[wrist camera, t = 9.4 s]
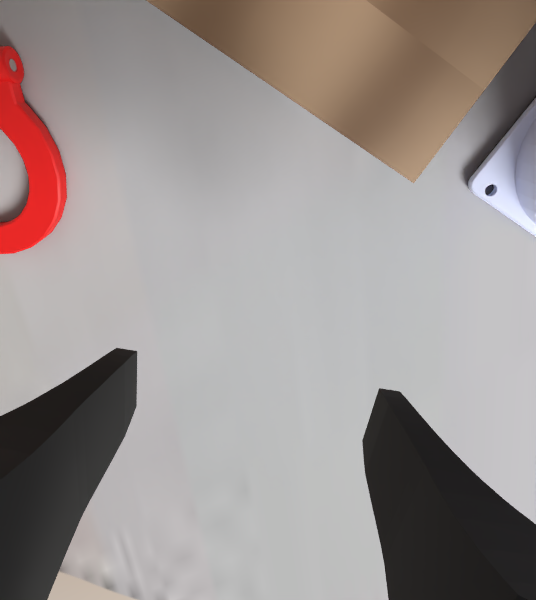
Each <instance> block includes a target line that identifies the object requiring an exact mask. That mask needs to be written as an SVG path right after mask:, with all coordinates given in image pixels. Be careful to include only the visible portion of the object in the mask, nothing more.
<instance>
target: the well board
mask: <svg viewBox="0 0 536 600" xmlns="http://www.w3.org/2000/svg"><path fill="white" fill-rule="evenodd" d="M146 1H148V2H149V3H151V4H152V5H154V6H155V7H157V8H158V9H160V10H161V11H162V12H164V13H165V14H167V15H168V16H170V17H171V18H173V19H174V20H176V21H177V22H179V23H180V24H182V25H183V26H184V27H186V28H187V29H189V30H190V31H192V32H193V33H195V34H196V35H198V36H199V37H201V38H202V39H203V40H205V41H206V42H208V43H209V44H211V45H212V46H214V47H215V48H217V49H218V50H220V51H221V52H222V53H224V54H225V55H227V56H228V57H230V58H231V59H233V60H234V61H236V62H237V63H239V64H240V65H241V66H243V67H244V68H246V69H247V70H249V71H250V72H252V73H253V74H255V75H256V76H258V77H259V78H261V79H262V80H263V81H265V82H266V83H268V84H269V85H271V86H272V87H274V88H275V89H277V90H278V91H280V92H281V93H282V94H284V95H285V96H287V97H288V98H290V99H291V100H293V101H294V102H296V103H297V104H299V105H300V106H301V107H303V108H304V109H306V110H307V111H309V112H310V113H312V114H313V115H315V116H316V117H318V118H319V119H321V120H322V121H323V122H325V123H326V124H328V125H329V126H331V127H332V128H334V129H335V130H337V131H338V132H340V133H341V134H342V135H344V136H345V137H347V138H348V139H350V140H351V141H353V142H354V143H356V144H357V145H359V146H360V147H361V148H363V149H364V150H366V151H367V152H369V153H370V154H372V155H373V156H375V157H376V158H378V159H379V160H381V161H382V162H383V163H385V164H386V165H388V166H389V167H391V168H392V169H394V170H395V171H397V172H398V173H400V174H401V175H402V176H404V177H405V178H407V179H408V180H410V181H411V182H413V183H414V182H415V181H416V180H417V178H418V177H419V176H420V174H421V173H422V172H423V170H424V169H425V168H426V166H427V165H428V164H429V162H430V161H431V160H432V158H433V157H434V156H435V154H436V153H437V152H438V151H439V149H440V148H441V147H442V145H443V144H444V143H445V141H446V140H447V139H448V137H449V136H450V135H451V133H452V132H453V131H454V129H455V128H456V127H457V126H458V124H459V123H460V122H461V120H462V119H463V118H464V116H465V115H466V114H467V112H468V111H469V110H470V108H471V107H472V106H473V104H474V103H475V102H476V101H477V99H478V98H479V97H480V95H481V94H482V93H483V91H484V90H485V89H486V87H487V86H488V85H489V83H490V82H491V81H492V79H493V78H494V77H495V75H496V74H497V73H498V72H499V70H500V69H501V68H502V66H503V65H504V64H505V62H506V61H507V60H508V58H509V57H510V56H511V54H512V53H513V52H514V50H515V49H516V48H517V47H518V45H519V44H520V43H521V41H522V40H523V39H524V37H525V36H526V35H527V33H528V32H529V31H530V29H531V28H532V27H533V25H534V24H535V23H536V0H146Z"/></svg>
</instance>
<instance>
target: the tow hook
mask: <svg viewBox="0 0 536 600" xmlns="http://www.w3.org/2000/svg"><path fill="white" fill-rule="evenodd" d="M23 77H24V69H23V64H22V61H21V59H20V57H19V55H18V53H17V52H16V51H15V50H14V49H13V48H12V47H10V46H0V129H1V130H2V131H3V132H4V133H5V134H6V135H7V136H8V138H9V139H10V140H11V141H12V142H13V143H14V145H15V146H16V148H17V150H18V152H19V153H20V155H21V157H22V158H23V161H24V164H25V167H26V170H27V173H28V178H29V195H28V200H27V204H26V206H25V207H24V209H23V211H22V212H21V214H20V215H19V216H18V217H16V218H15V219H14V220H11V221H8V222H0V254H10V253H16V252H19V251H22V250H25V249H28V248H31V247H32V246H34V245H35V244H37V243H38V242H40V241H41V240H42V239H44V238H45V237H46V236H47V235H49V234H50V233H51V232H52V231H53V230H54V228H55V226H56V225H57V223H58V222H59V220H60V219H61V217H62V214H63V210H64V206H65V202H66V198H67V193H66V174H65V170H64V167H63V163H62V160H61V156H60V153H59V150H58V148H57V146H56V144H55V143H54V141H53V139H52V137H51V135H50V133H49V131H48V130H47V128H46V126H45V125H44V124H43V123H42V121H41V120H40V119H39V118H38V117H37V115H36V114H35V113H34V112H33V111H32V109H31V108H30V107H29V106H28V105H27V104H26V103H25V101H24V97H23V94H22V90H21V86H20V83H21V82H22V80H23Z"/></svg>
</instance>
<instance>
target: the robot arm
mask: <svg viewBox="0 0 536 600" xmlns="http://www.w3.org/2000/svg"><path fill="white" fill-rule="evenodd" d="M491 184H493V186H494V189H493V191H492V192H491V193H490V194H487V195H486V194H485V189H486V187H487V186H489V185H491ZM468 187H469V190H470V191H471V192H472V193H473V194H475V195H476V196H478V197H479V198H481V199H482V200H483V201H485V202H486V203H488V204H489V205H491V206H492V207H493V208H495V209H496V210H498V211H499V212H501V213H502V214H503V215H505V216H506V217H508V218H509V219H511V220H512V221H513V222H515V223H516V224H518V225H519V226H521V227H522V228H523V229H525V230H526V231H528V232H529V233H531V234H532V235H533V236H535V237H536V98H535V99H534V100H533V102H532V103H531V104H530V105H529V106H528V108H527V109H526V110H525V111H524V113H523V114H522V115H521V116H520V118H519V119H518V120H517V121H516V122H515V124H514V125H513V126H512V127H511V129H510V130H509V131H508V132H507V133H506V135H505V136H504V137H503V138H502V140H501V141H500V142H499V143H498V144H497V146H496V147H495V148H494V149H493V151H492V152H491V153H490V154H489V156H488V157H487V158H486V159H485V160H484V162H483V163H482V164H481V165H480V167H479V168H478V169H477V170H476V171H475V173H474V174H473V175H472V176H471V178H470V180H469V183H468ZM136 394H137V351H133V350H126V349H120V348H116V349H114V350H113V351H111V352H109V353H108V354H106V355H105V356H103V357H102V358H100V359H99V360H97V361H96V362H94V363H93V364H91V365H90V366H88V367H87V368H85V369H84V370H82V371H81V372H79V373H78V374H76V375H74V376H73V377H71V378H70V379H68V380H67V381H65V382H63V383H62V384H60V385H58V386H57V387H55V388H53V389H51V390H50V391H48V392H46V393H44V394H43V395H41V396H39V397H37V398H36V399H34V400H32V401H30V402H28V403H26V404H25V405H23V406H21V407H19V408H17V409H15V410H13V411H10V412H8V413H6V414H4V415H2V416H0V600H47V599H48V596H49V594H50V591H51V589H52V586H53V584H54V581H55V579H56V576H57V574H58V571H59V569H60V567H61V564H62V562H63V559H64V557H65V554H66V552H67V550H68V547H69V545H70V542H71V540H72V538H73V535H74V533H75V531H76V528H77V526H78V524H79V521H80V519H81V517H82V515H83V513H84V511H85V509H86V507H87V505H88V503H89V501H90V499H91V497H92V496H93V494H94V492H95V490H96V488H97V487H98V485H99V483H100V481H101V479H102V477H103V476H104V474H105V472H106V470H107V468H108V466H109V465H110V463H111V461H112V459H113V457H114V455H115V454H116V452H117V450H118V448H119V446H120V444H121V442H122V440H123V439H124V437H125V434H126V432H127V429H128V427H129V424H130V422H131V419H132V416H133V414H134V411H135V408H136ZM363 454H364V465H365V474H366V479H367V484H368V488H369V493H370V498H371V502H372V507H373V511H374V516H375V520H376V525H377V529H378V534H379V538H380V543H381V548H382V553H383V559H384V565H385V573H386V581H387V589H388V598H389V600H536V524H534V523H533V522H532V521H531V520H529V519H528V518H527V517H525V516H524V515H523V514H521V513H520V512H519V511H518V510H516V509H515V508H514V507H513V506H511V505H510V504H509V503H508V502H506V501H505V500H504V499H503V498H502V497H500V496H499V495H498V494H497V493H496V492H495V491H494V490H493V489H491V488H490V487H489V486H488V485H487V484H486V483H485V482H483V481H482V480H481V479H480V478H479V477H478V476H477V475H476V474H475V473H474V472H473V471H472V470H471V469H470V468H469V467H468V466H467V465H466V464H465V463H464V462H463V461H462V460H461V459H460V458H459V457H458V456H457V455H456V454H455V453H454V452H453V451H452V450H451V449H450V448H449V447H448V446H447V445H446V444H445V443H444V442H443V440H442V439H441V438H440V437H439V436H438V435H437V434H436V433H435V432H434V430H433V429H432V428H431V427H430V426H429V425H428V424H427V422H426V421H425V420H424V419H423V418H422V417H421V415H420V414H419V413H418V412H417V411H416V410H415V408H414V407H413V406H412V405H411V404H410V402H409V401H408V400H407V399H406V398H405V397H404V396H403V395H402V394H401V392H399V391H393V390H386V389H380V388H379V391H378V394H377V397H376V400H375V403H374V406H373V409H372V413H371V416H370V419H369V422H368V425H367V428H366V431H365V434H364V438H363Z"/></svg>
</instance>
